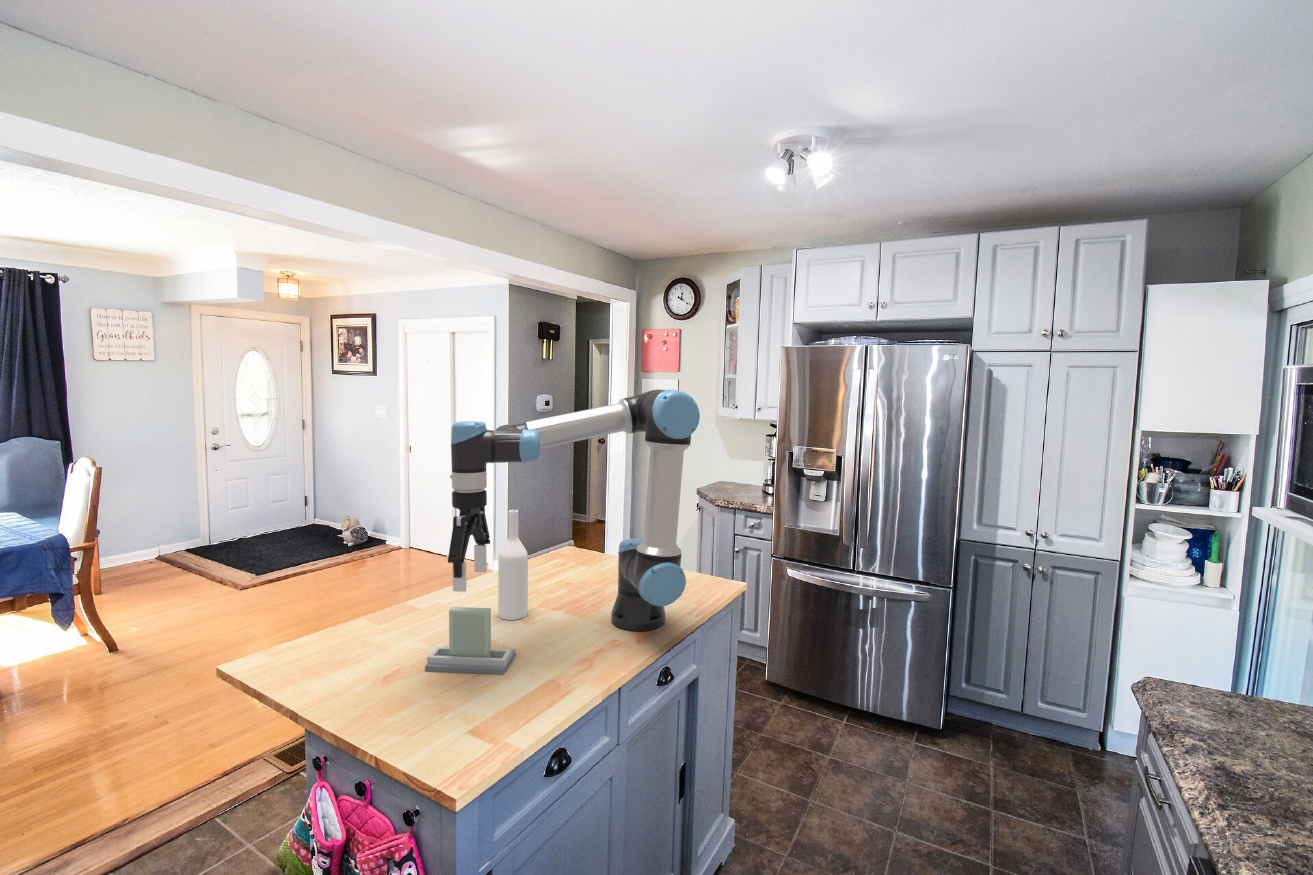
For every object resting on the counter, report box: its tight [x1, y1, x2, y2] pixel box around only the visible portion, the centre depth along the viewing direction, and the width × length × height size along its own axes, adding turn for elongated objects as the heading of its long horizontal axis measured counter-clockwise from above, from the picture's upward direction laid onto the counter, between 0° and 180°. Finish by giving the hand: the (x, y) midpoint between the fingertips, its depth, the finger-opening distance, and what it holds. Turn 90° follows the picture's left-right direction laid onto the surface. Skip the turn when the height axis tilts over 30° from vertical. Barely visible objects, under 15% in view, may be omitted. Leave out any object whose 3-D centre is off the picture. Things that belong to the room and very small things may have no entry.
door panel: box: [448, 606, 492, 658], centre depth 139 cm, size 9×2×12 cm, turn 88°
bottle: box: [497, 509, 529, 621], centre depth 169 cm, size 8×8×30 cm
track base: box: [424, 646, 517, 675], centre depth 140 cm, size 18×10×3 cm, turn 88°
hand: (470, 580), depth 138 cm, fingers open, 13 cm apart
